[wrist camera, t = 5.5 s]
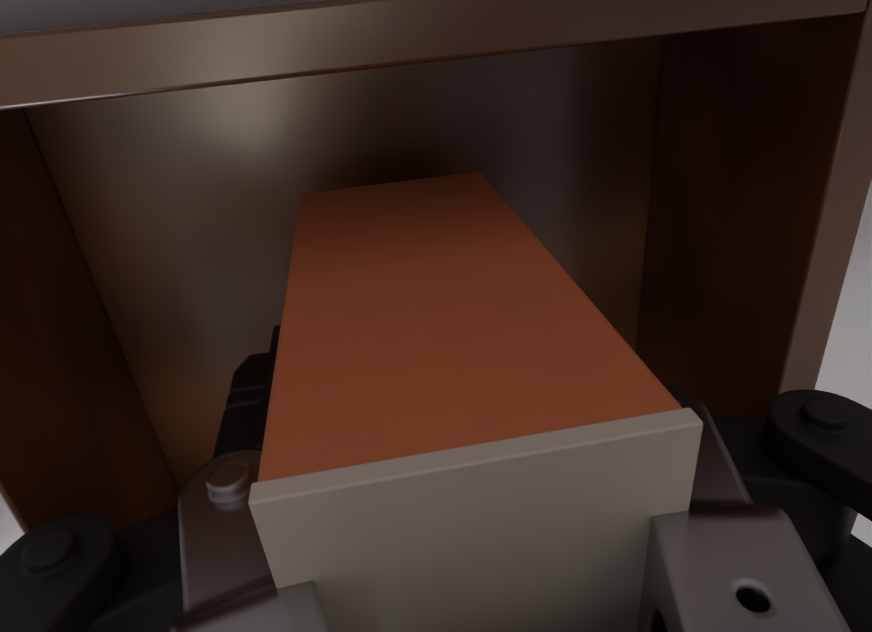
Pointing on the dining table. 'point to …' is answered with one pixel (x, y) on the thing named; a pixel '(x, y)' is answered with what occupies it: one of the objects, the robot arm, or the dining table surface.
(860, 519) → the dining table surface
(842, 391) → the dining table surface
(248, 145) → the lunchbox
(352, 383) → the drink carton
